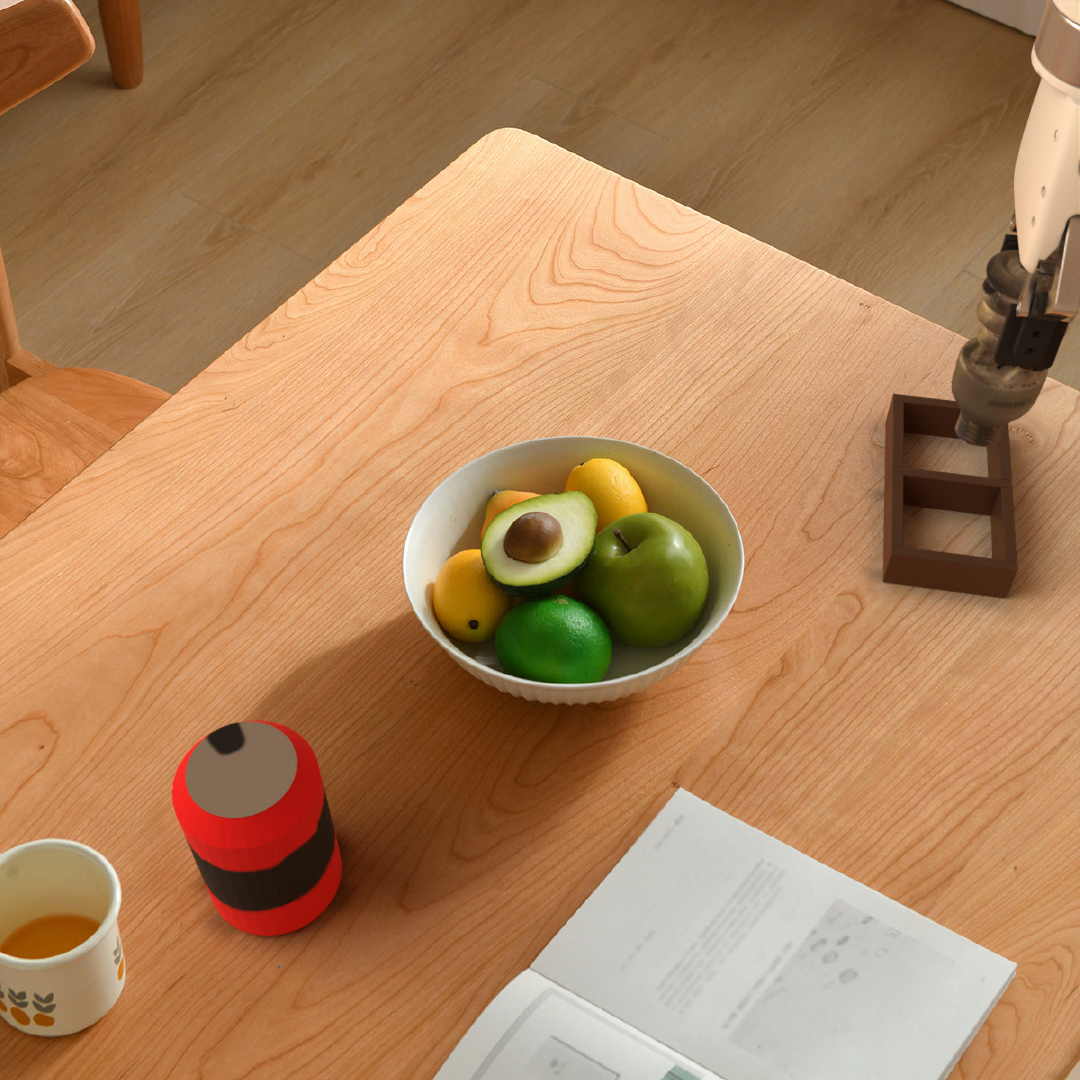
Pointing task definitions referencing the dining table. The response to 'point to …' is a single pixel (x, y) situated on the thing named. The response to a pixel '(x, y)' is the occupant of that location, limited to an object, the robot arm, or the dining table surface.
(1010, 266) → the light bulb
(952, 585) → the socket block
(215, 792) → the soda can
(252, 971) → the dining table surface
